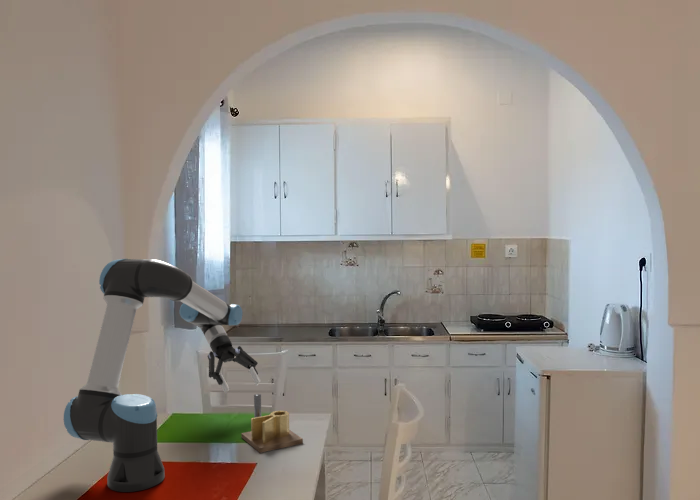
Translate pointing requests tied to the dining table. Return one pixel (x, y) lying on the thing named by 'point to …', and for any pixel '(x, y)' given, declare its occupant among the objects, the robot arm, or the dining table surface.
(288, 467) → the dining table surface
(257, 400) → the hinge pin
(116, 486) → the robot arm
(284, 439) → the walnut board
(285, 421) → the brass hinge
